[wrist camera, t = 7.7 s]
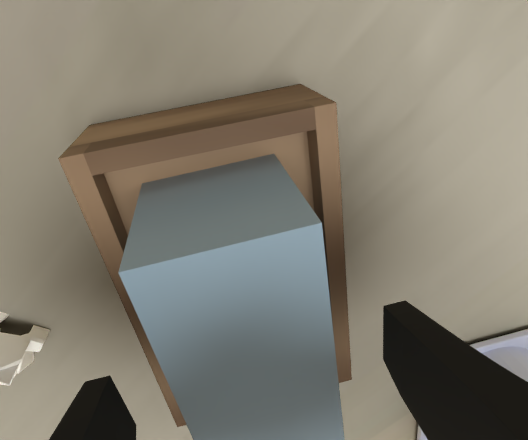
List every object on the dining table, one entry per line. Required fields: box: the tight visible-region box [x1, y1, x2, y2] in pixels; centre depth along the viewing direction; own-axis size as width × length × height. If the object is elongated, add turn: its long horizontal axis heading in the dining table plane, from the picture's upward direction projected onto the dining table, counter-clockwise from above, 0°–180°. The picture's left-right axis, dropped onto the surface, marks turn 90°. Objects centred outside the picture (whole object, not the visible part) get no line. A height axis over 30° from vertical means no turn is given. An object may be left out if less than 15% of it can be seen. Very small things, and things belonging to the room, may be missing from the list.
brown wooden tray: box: [58, 84, 352, 427], centre depth 14 cm, size 11×7×4 cm, turn 9°
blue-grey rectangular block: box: [118, 154, 345, 440], centre depth 11 cm, size 8×4×4 cm, turn 9°
